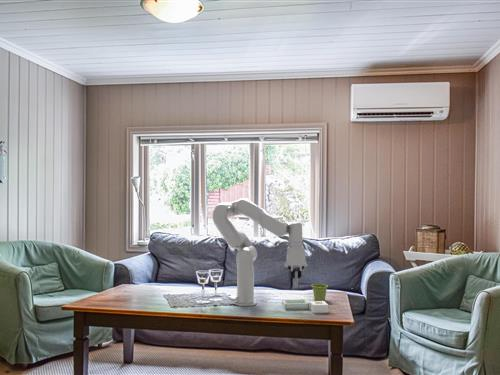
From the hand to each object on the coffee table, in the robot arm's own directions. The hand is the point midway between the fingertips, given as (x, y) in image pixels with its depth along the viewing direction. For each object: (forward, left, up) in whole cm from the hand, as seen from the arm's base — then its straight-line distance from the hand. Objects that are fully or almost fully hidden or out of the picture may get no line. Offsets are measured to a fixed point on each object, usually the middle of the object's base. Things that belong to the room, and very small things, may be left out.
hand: (296, 277), depth 223 cm
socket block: (+11, -8, -16) cm, 21 cm away
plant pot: (+17, +14, -16) cm, 27 cm away
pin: (0, 0, -5) cm, 5 cm away
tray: (0, 0, -16) cm, 16 cm away
